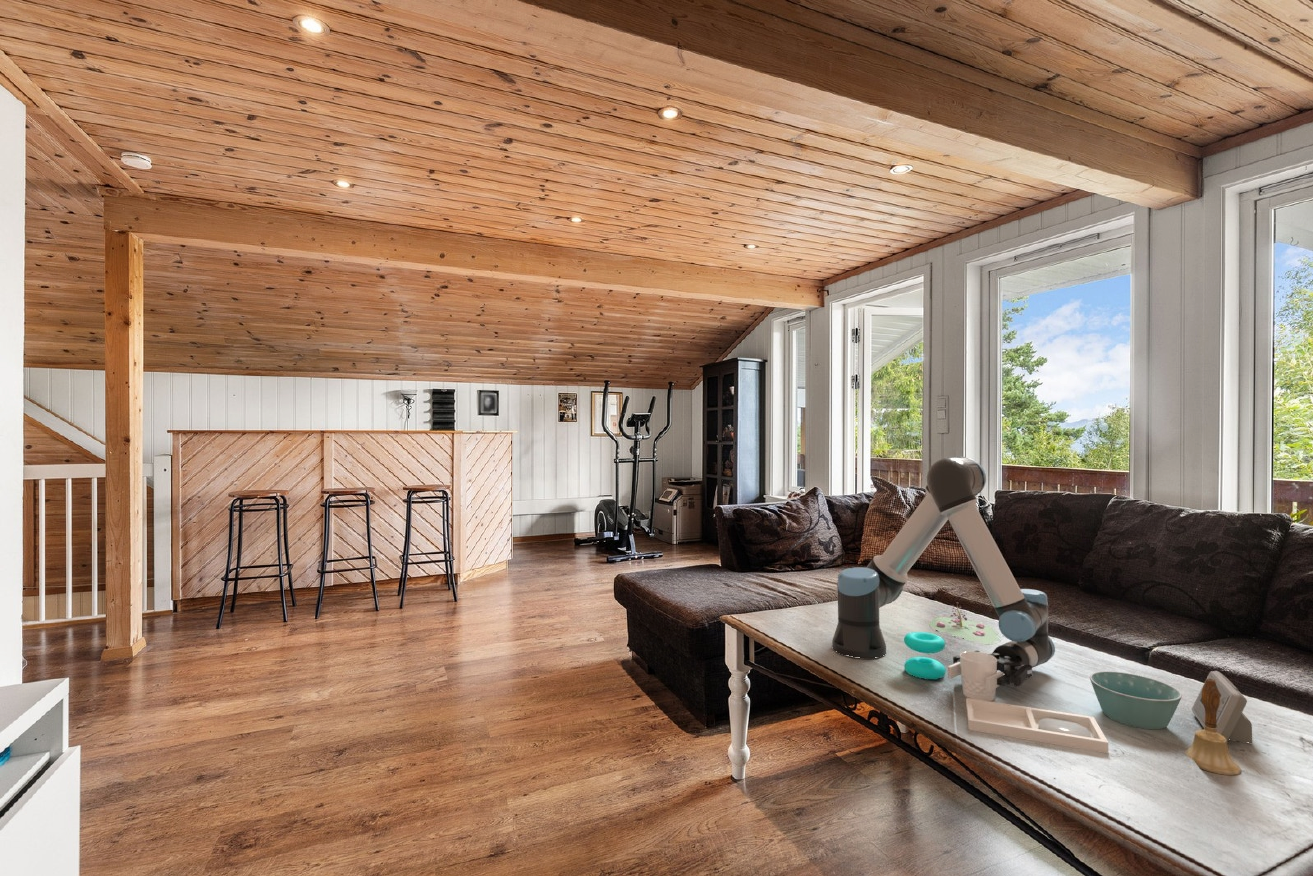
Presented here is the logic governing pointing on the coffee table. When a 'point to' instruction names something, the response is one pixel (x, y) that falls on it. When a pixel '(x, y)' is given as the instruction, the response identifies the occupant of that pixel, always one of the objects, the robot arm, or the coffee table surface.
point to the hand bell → (1212, 738)
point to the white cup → (977, 674)
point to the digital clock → (1227, 710)
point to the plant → (965, 628)
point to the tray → (1031, 724)
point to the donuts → (924, 665)
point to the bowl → (1135, 699)
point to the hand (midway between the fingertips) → (968, 678)
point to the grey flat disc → (1063, 727)
